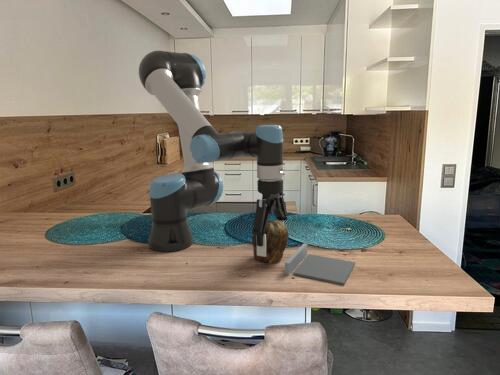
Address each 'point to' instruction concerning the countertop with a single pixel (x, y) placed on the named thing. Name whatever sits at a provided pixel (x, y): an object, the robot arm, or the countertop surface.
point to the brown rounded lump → (272, 242)
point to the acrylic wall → (295, 259)
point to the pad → (325, 269)
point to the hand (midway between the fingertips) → (271, 247)
